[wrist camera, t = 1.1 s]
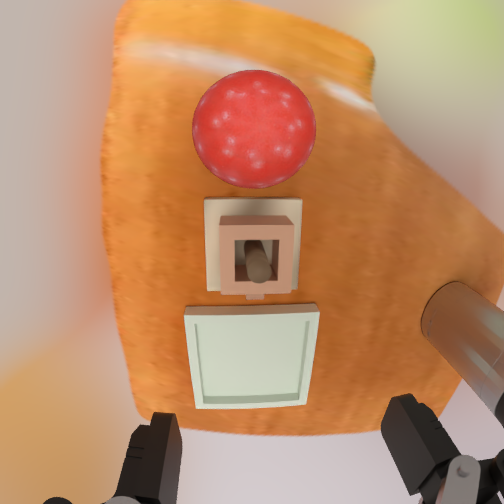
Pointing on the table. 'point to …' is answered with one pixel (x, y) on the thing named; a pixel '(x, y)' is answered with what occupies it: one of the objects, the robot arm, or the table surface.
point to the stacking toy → (254, 129)
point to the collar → (256, 229)
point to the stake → (249, 251)
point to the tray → (251, 354)
